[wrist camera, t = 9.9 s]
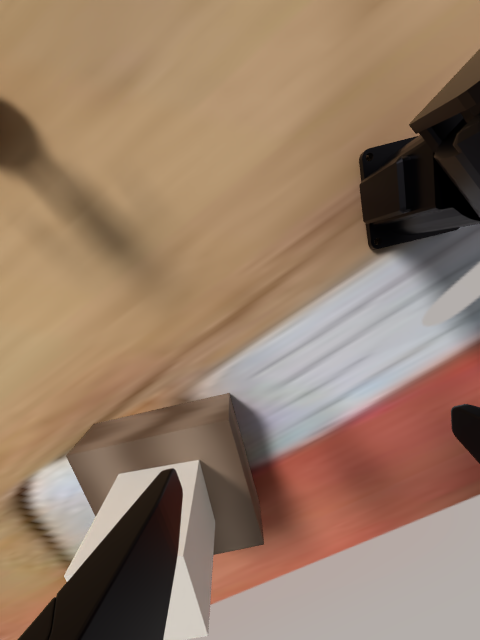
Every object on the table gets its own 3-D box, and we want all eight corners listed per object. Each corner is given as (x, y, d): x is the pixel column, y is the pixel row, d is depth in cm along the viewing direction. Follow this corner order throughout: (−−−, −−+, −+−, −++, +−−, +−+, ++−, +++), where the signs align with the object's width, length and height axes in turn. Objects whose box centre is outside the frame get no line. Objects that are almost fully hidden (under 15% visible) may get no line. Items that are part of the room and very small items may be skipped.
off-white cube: (199, 459, 18) (182, 555, 12) (215, 522, 19) (207, 635, 13) (118, 473, 18) (64, 575, 12) (140, 535, 19) (101, 653, 13)
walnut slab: (229, 390, 21) (228, 419, 17) (259, 498, 24) (263, 544, 20) (96, 420, 21) (66, 455, 18) (141, 523, 24) (123, 573, 20)
